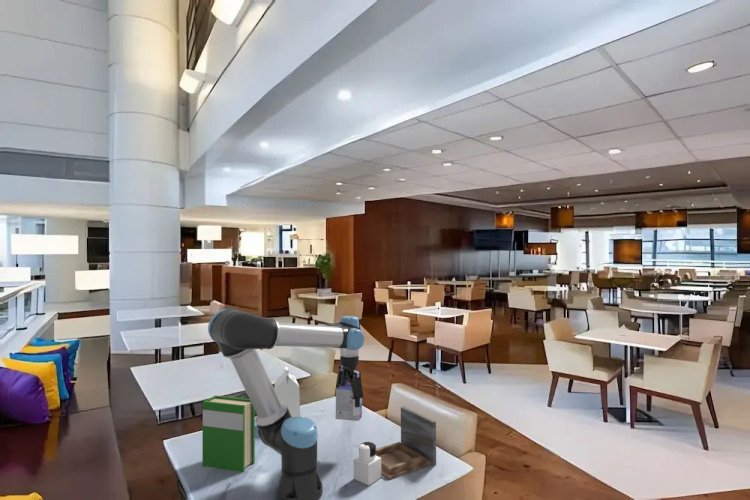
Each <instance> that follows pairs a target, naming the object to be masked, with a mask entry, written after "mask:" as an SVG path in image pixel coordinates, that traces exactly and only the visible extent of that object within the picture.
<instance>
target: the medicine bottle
mask: <svg viewBox="0 0 750 500" xmlns="http://www.w3.org/2000/svg"><path fill="white" fill-rule="evenodd" d="M376 449H377V446H376V444H375V443H374V442H372V441H371V442H370V441H364V442H361V443H360V444H359V445H358V456H356V457H355V458H353V480H355V481H358V482H360V483H362V484H363V485H367V486H370V485H372V484H374V483H375V482H377V481H378V480H380V479H381V478H382V474H381V457H378V456H376Z"/></svg>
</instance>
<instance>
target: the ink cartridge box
mask: <svg viewBox="0 0 750 500" xmlns="http://www.w3.org/2000/svg"><path fill="white" fill-rule="evenodd" d="M349 383H350V382H349V380H346V383H345V386H339V387H338V388H336V389H335V420H342V421H343V420H344V421H352V422H353V421H354V422H355V421H356V422H359V421H360V420H361V419H362V417H363V398H360V415H356V416H353V399H352V398H354V396H353V392H352V388H351V384H349ZM360 395H361V394H360Z"/></svg>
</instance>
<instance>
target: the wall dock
mask: <svg viewBox="0 0 750 500" xmlns="http://www.w3.org/2000/svg"><path fill="white" fill-rule="evenodd" d="M376 456H378V457H381V475H383V476H384V477H385V478H387V479H389V480H392V479H395V478H398V477H400V476H401V477H402V476H403V475H406V474H409V473H412V472H415V471H417V470H420V469H423V468H426V467H429V466H433V467H434V466H436V465H437V421H435V420H434V419H431V418H430V417H429V418H428V417H427V416H425V415H422V414H420V413H418V412H416V411H414V410H413V409H410V408H407V407H406V406H400V441H399V442H398V441H397V442H394V443H391V444H387V445H384V446H382V447H379V448H377V447H376Z"/></svg>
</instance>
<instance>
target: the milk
mask: <svg viewBox="0 0 750 500" xmlns="http://www.w3.org/2000/svg"><path fill="white" fill-rule="evenodd" d="M283 371H284V372H283V373H282V374H281V375H280V376H279V377H278V378H277V379H276V380H275V381H274V385H273V387H274V390H275V392H276V394H277V396H278V398H279V401H280V402H282V403H285V404H286V405H287V407H288V409H289V412H290V414H291V416H292V417H301V403H300V401H301V400H300V385H299V381H298V380H297V378H296V376H295V375H293V374H290V369H289V368H288V366H284V370H283Z"/></svg>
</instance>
